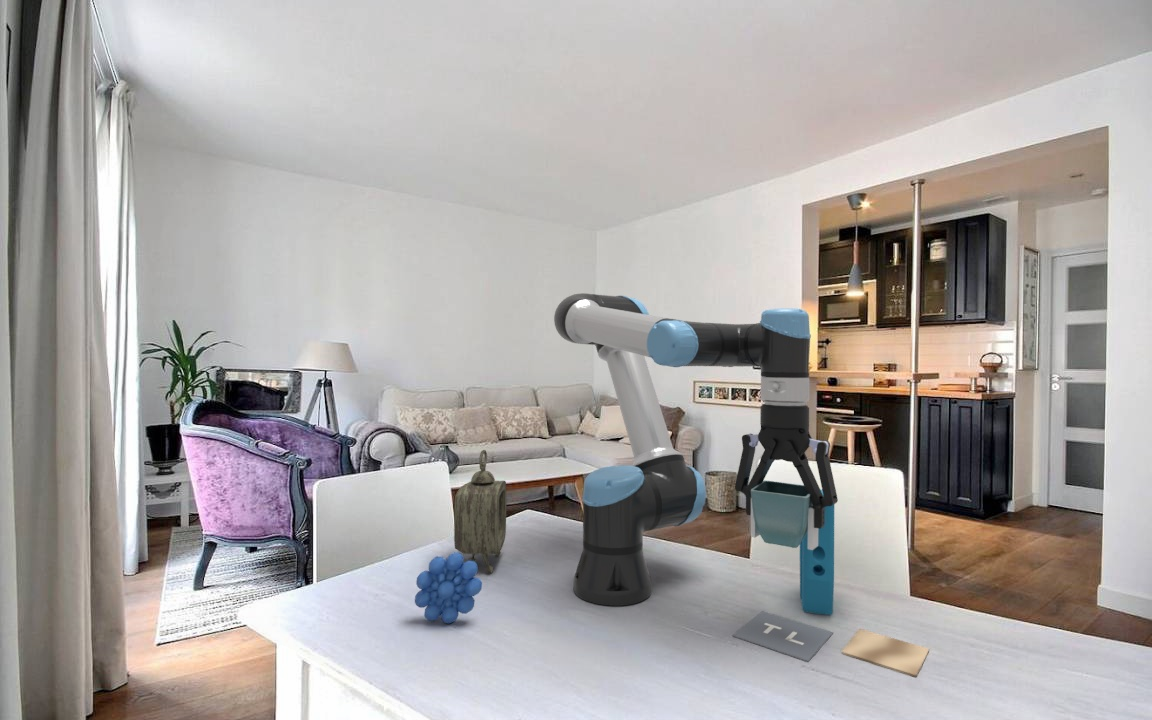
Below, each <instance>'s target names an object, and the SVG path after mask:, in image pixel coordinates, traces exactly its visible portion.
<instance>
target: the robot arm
mask: <svg viewBox="0 0 1152 720" xmlns="http://www.w3.org/2000/svg"><path fill="white" fill-rule="evenodd" d="M553 316H554V317H553V322H554V323H553V324H554V326H555V329H556V332H557V333H558V335H559V336H560V337H561V338H563V339H564V340H566V341H568V342H570V343H573V344H579V345H592V346H593V345H594V346H595V349H596V351H597V355H598V356H597V357H599V358H600V359H601V360H602V361H605V362H606V364H607V367H608V370H609V374H610V377H611V382H612V385H613V388H614V391H615V395H616V398H617V402H618V405H619V409H620V413H621V416H622V419H623V423H624V426H625V429H626V433H627V438H628V440H629V441H628V442H629V444H630V448H631V450H632V454H633V458H634V461H633V463H632V465H626V464H625V465H623V464H622V465H618V466H616V465H609V466H605V467H601V468H598V469H595V470H593V471H591V472H590V473H588V474H587V476H586V477H585V479H584V482H583V491H582V496H581V497H582V498H581V499H582V503H583V504H582V507H583V508H582V510H583V511H582V513H583V514H582V535H583V536H582V551H581V555H580V558H579V560H578V561H579V562H578V564H577V567H576V569H575V570H576V571H575V574H574V576H573V591H574V593H575V595H577V596H578V597H579V598H581V599H582V600H584V601H586V602H590V603H593V604H598V605H603V606H616V607H617V606H628V605H629V606H630V605H634V604H638V603H640V602H643V601H645V600H647V599H649V597H651V595H652V578H651V577H652V576H651V575H650V573H649V569H648V565H647V561H646V558H645V556H644V555H645V554H644V550H643V546H644V544H643V543H644V542H643V541H644V539H643V538H644V537H643V535H644V532H650V531H655V530H659V529H663V528H664V529H665V528H670V527H680V526H683V525H684V524H689V523H692V522H693V521H695V520H696V519H697V518H699V516H700V515H701V514H702V512H703V509H704V508H703V507H704V506H705V504H706V500H707V499H706V497H707V493H706V490H707V489H706V485H705V481H704V479H703V478H704V477H702V475H701V473H700V472H699V471H698V470H696V468H694V467H692V466H689V465H687V463H686V460H685V457H684V455H683V453H682V452H680V451H678V450H676V449H675V448H674V447H673V443H672V440H671V438H670V434H669V431H668V428H667V424H666V421H665V417H664V415H663V411H662V409H661V404H660V402H659V399H658V396H657V392H656V389H655V386H654V383H653V380H652V375H651V374H650V370H649V367H648V365H647V364H648V363H647V361H646V358H645V357H648V358H651V359H652V360H653V362H654V363H655V364H657V365H659V366H663V367H672V368H680V367H723V368H724V367H725V368H726V367H728V368H734V367H758V368H760V400H761V401H763V402H764V403H762V404H761V405H760V421H759V422H760V424H759V425H760V430H759V432H758V433H756V434H754V433H748V434H743V435H742V436H741V442H742V452H741V457H740V461H739V466H738V470H737V474H736V475H737V476H736V481H735V485H734V489H735V491H736V492H741V493H742V494H744V497H745V513H746V515H747V516H750V537H751V538H757V537H759V536H760V534H759V532H758V530H757V527H756V524H755V521H754V516H753V507H752V498H751V489H752V488H754V487H755V486H757V485H759V484H761V483H762V482H763V481H765V478H766V476H767V474H768V472H769V470H770V468H771V466H772V464H773V463H774V462H775V461H780V460H782V461H784V462H790V463H792V465H793V467H794V468H795V469H796V472H798V475H799V478H800V480H801V482H802V485H804V486H805V489H806V491H807V493H808V494H810V500H811V502H812V504H813V505H812V506H810V507H809V511H808V549H810V550H813V549H815V548H816V547H817V546H818V528H819V529H821V528H822V527H823V526H824V524H825V507H827V506H832V505H834V506H835V504H837V503H838V499H839V498H838V495H837V494H838V493H837V489H836V485H835V480H834V475H833V470H832V466H831V460H830V457H829V455H830V447H831V442H830V441H829V440H818V439H813V438H812V436H811V433H810V407H808V406H809V405H806V403H808V402H809V401H810V369H809V368H810V347H811V337H812V335H811V333H810V331H811V330H810V315H809V313H808V312H807V311H806V310H804V309H802V308H772V309H765V310H763V311H762V313H761V316H760V321H759V322H758V323H757V322H756V323H740V324H739V323H737V324H736V323H735V324H734V323H721V322H720V323H718V322H717V323H716V322H700V321H688V320H681V319H676V318H668V317H663V316H662V317H661V316H656V315H650V314H649V311H648V309H647V308H646V306H645V305H644V304H643V303H642V302H641V301H640V300H639V299H636V298H633V297H628V296H626V295H605V294H594V293H576V294H575V293H574V294H572V295H569V296H567V297H565V298H564V299H563V300H562V301H560V303H559V304H558V305H557V307H556V309H555V311H554V315H553ZM759 443H760V444H761V446H762V448H763V450H764V451H763V453H762V454H761V456H760V461H759V463H758V464H757V467H756V468H755V471H754V473H753V475H752V476H750V475H751V471H752V467H753V462H754V458H755V454H756V447H757V446H758V445H759ZM810 447H811V448H812V452H813V454H814V455H815V460H816V465H817V471H818V475H819V480H820V485H821V488H820V486H819V484H818V481H817V479H816V477H815V475H814V473H813V470H812V468H811V467H810V464H809V459H808V457H807V455H806V451H807V450H808V449H809V448H810ZM750 477H751V479H750ZM820 489H821V490H822V491H823V495H822V492H821V490H820ZM823 496H824V497H823Z"/></svg>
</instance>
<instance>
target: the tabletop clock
mask: <svg viewBox="0 0 1152 720" xmlns="http://www.w3.org/2000/svg"><path fill="white" fill-rule="evenodd" d="M483 456H484V461H483V462H482V460H483ZM487 463H488V454H487V451H486V449H483V450H481V452H480V454H479V470H478V471H476V472H475V473H474V474H473V475H472V476H471V479H470V481H469V482H467V483H465V484H463V485H462V486H460V487H459V488H458V490H457V492H456V494H455V497H454V511H453V512H454V515H453V517H454V520H453V523H454V524H453V527H454V529H453V532H454V533H453V534H454V537H453V538H454V539H453V540H454V542H453V543H454V549H455V550H457V551H458V552H459V553H462V555H471V557H469V558H468V559H467V561H474V562H475V563H477V562H476V558H475V556H476V555H481V556H482V557H483V560H484V561H485V563H486V564H485V565H486V567H485V572H486V573H487V574H491V573H493V571H494V567H493V565H490V561H489V557H488V555H494V556H496V557H498V556H500V555H501V553H502V552H501V551H502V549H503V546H504V543H505V540H506V535H507V534H506V533H507V531H506V530H507V482H506V480H496V479H495V477H494V475H493V473H492V472H490V471H488V470H487V469H486V466H487Z"/></svg>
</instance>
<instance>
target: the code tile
mask: <svg viewBox="0 0 1152 720" xmlns="http://www.w3.org/2000/svg"><path fill="white" fill-rule="evenodd" d="M832 635H834V632H833V631H831V630H827V629H825V628H821V627H818V626H814V625H811V624H807V623H803V622H802V621H797V620H794V619H790V618H787V617H784V616H781V615H777V614H774V613H771V612H768V611H764V610H762V611H760V613H758V614H757V615H756V616H754V617H753V618H752V619H751V620H750V621H748V622H747V623H746V624H745V625H744V626H742V627H741V628H740V629H738V630H737V631H736V632H735V633H734V634H732V638H733V637H734V638H736V639H738V640H742V641H746V642H748V643H752V644H754V645H758V646H761V647H762V648H764V649H765V648H766V649H768V650H772V651H775V652H778V653H781V654H783V655H787V656H788V657H789V656H790V657H793V658H794V659H799V660H801V661H804V662H807V663H809V662H810V661H811V659H813V657H814V656H815V655H816V654H817V653H818V651H819V650H820V649H821V648H822V647H823V646H824V645H825V643H826V642H827V641H828V640H829V639H830V638H831V636H832Z"/></svg>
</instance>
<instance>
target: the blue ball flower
mask: <svg viewBox="0 0 1152 720" xmlns="http://www.w3.org/2000/svg"><path fill="white" fill-rule="evenodd" d="M463 556H464V555H463V554H461V552H452V553H451V554H449V555H448V556H447V558H446V559H445V557H443V556H437V555H436V556H435V557H434V558H432V559H431V560H430V561H429V563H428V570H424V571H422V572H420V573H419V574H418V575H417V577H416V581H415V583H416V586H417V588H418V589H420V590H419V591H417V593H416V594H415V596H414V604H415V605H416V606H417V607H418V608H422V609H423V608H424V618H425V619H426V620H427V621H429V622H435V621H436V620H437V619H439V618H441V621H442V622H443V623H445V624H452V623H453V622H455V621H456V620H457V619H458V617H459V613H460V614H463V615H464V614H468V613H470V612H471V611H472V610H473V609H474V607H475V598H474V597H475V596H476V595H478V594H479V593H480V592H481V590H482V586H483V582H482V580H481V579H480V578H479V577H475V576H476V575H477V573H478V569H479V568H478V567H479V566H478V564H477V562H474V561H468V560H467V561H465V562H464V557H463Z"/></svg>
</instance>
